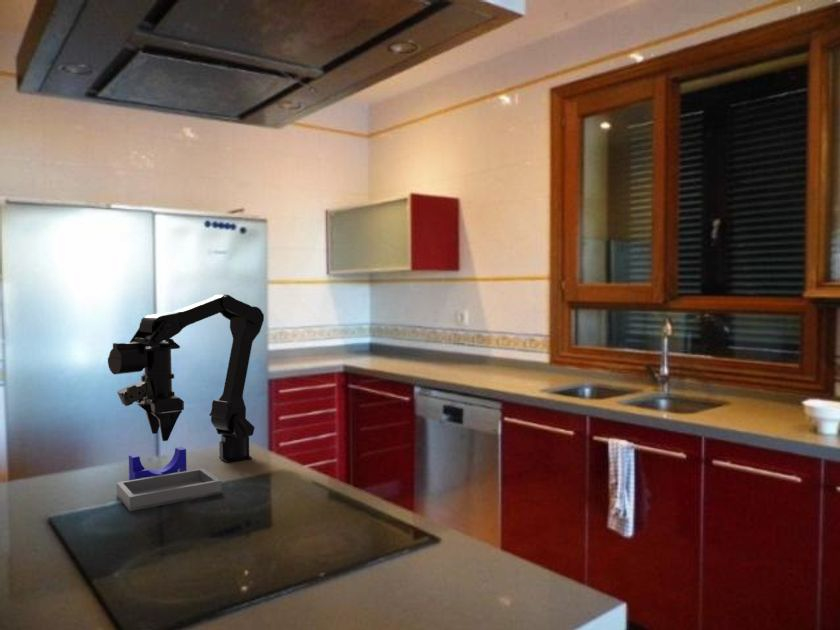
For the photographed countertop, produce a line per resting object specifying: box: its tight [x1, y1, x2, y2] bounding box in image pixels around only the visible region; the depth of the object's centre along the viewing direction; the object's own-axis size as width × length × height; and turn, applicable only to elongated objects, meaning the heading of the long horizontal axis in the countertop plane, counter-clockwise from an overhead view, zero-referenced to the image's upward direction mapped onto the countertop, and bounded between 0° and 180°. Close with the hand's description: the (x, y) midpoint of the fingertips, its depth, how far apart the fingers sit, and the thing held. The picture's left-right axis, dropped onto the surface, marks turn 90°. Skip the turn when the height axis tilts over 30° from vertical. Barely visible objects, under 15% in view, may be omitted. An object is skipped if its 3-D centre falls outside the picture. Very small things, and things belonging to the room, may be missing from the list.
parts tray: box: [116, 467, 222, 512], centre depth 136 cm, size 18×12×3 cm, turn 126°
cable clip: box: [128, 446, 188, 481], centre depth 150 cm, size 12×4×6 cm, turn 130°
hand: (159, 437), depth 149 cm, fingers open, 9 cm apart
